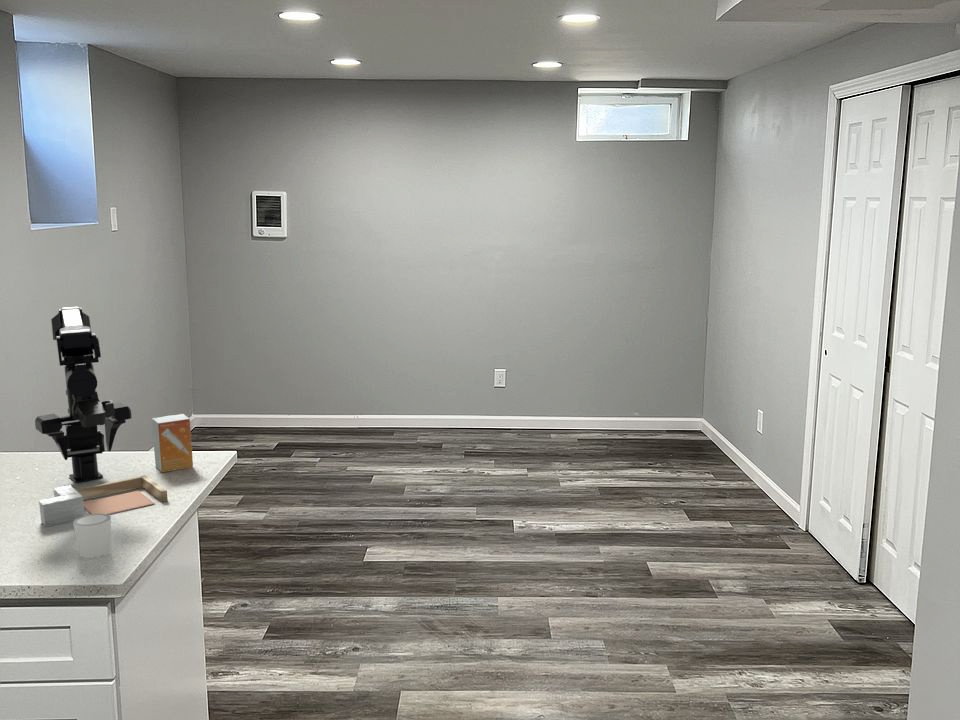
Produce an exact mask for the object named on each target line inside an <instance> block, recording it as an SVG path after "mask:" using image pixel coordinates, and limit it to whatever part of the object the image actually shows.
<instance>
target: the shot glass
mask: <svg viewBox="0 0 960 720" xmlns="http://www.w3.org/2000/svg"><path fill="white" fill-rule="evenodd" d="M72 524H73V525H72V526H73V529H74V533H75V539H76V543H77V548H78V552H79V555H80V557H81V558H82V557H83V559H90V558H91V559H95V558H94V557H98V558H101V557H100V556H102V557H104V556H103V555H105V556H107V555H109V554H110V553H111V551H110V550H112V544H111V543H112V530H111V529H112V516H111V514H110V515H107V514H90V513H89V514H87V515H85V516H82V517H79V518H77V519H76V520H74V521H72ZM109 552H110V553H109ZM106 554H107V555H106Z"/></svg>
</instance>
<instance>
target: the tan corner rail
mask: <svg viewBox="0 0 960 720" xmlns="http://www.w3.org/2000/svg"><path fill="white" fill-rule="evenodd" d="M136 488H137V489H141V488H143V489H144V488H145V490H146V491H147V492H148V493H149V494H151V495H152V496H154V497H155V498H156V499H158V500H159V501H160V502H162V503H165V502H168V501H169V500H168V499H169V498H168V490H167V489H165V488H164V487H163V486H161V485H160V484H158V483H157V482H155V481H154V480H153V479H151V478H150V477H149V476H147V475H146V474H143V475H138V476H134V477H129V478H124V479H119V480H116V481H115V480H114V481H110V482H104V483H101V484H100V483H99V484H95V485H91V486H90V485H89V486H86V487H81V488H74V489H75V490H76V491H77V492H78V493H79V494H81V495H82V496H83V501H86V500H89V499H93V498H94V499H95V498H99V497H103V496H108V495H113V494H117V493H122V491H123V492H127V490H128V491H132V490H136Z"/></svg>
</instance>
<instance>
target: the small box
mask: <svg viewBox="0 0 960 720" xmlns="http://www.w3.org/2000/svg"><path fill="white" fill-rule="evenodd" d="M151 426H152V438H153V451H154V461H155V468H157V469H158V470H159V471H160V473H166V472H170V471H178V470H185V469H190V468H193V467H194V464H193V462H194V461H193V459H194V458H193V446H192V433H191V418H190V417H188V416H187V415H186V414H184V413H180V414H173V415H172V414H171V415H166V416H165V415H164V416H159V417H152V418H151Z"/></svg>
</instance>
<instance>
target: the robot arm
mask: <svg viewBox="0 0 960 720" xmlns="http://www.w3.org/2000/svg"><path fill="white" fill-rule="evenodd" d="M50 321H51V331H52V332H51V333H52V334H51V335H52V340H53V341H55V342H56V346H57V347H56V348H57V354H58V355H57V356H58V362H59V366H64V375H65V385H66V390H65V395H66V396H67V403H68V404H67V406H68V408H67V413H68V415H65V416H59V415H57V414H55V413H50V414H44V415H38V416H37V417H36V418H35V420H34V424H35V425H34V426H35V430H36V431H38V432H39V433H41V434H42V435H46V436H48V437H51V438H52V440H53V441H54V443H55V444H56V446H57V448H58V450H59V452H60V454H61V455H62V457H63V459H64V460H65V461H67V460H68V458H69V459H70V458H71V465H72V466H71V467H72V468H71V469H72V474H70V473H69V474H68V476H69V478H70V479H71V480H72V481H73V482H74V483H76V484H77V483H82V482H88V481H92V480H97V479H102V478H104V474H102V473H101V472H100V471H99V468H98V467H99V466H98V456H97V455H98V454H103V452H105V451H106V450H107V451H108V452H112V448H113V444H114V442H115V438H116V434H117V431H118V429H119V428H120V426H121V425H122V424H126V422H127V421H126V420H130V419H132V410H131V408H130V407H129V406H128V405H127V404H124V403H122V402H116V403H114V402H113V400H112V399H108V400H106V399H105V400H103V401H101V400H100V399H99V395H98V391H97V390H96V389H97V387H98V379H97V376H96V373H95V369H94V364H95V363H96V364H97V363H99V358H101V357H102V354H101V348H100V341H99V340H100V339H99V338H98V337H97V335H96V334H95V333H92V328H91V327H92V326H91V320H90V316H89V315H88V314H86V313H85V312H83V308H82V307H79V306H66V307H61V308H59V309H58V313H56V315H54V316H53V317H52V318H51V319H50ZM93 363H94V364H93ZM63 426H65V432H64V431H63V430H62V428H63ZM98 426H104V431H105V433H104V434H105V435H104V434H103V433H102V432H101V429H98ZM105 445H106V447H105ZM105 448H106V449H105Z"/></svg>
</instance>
